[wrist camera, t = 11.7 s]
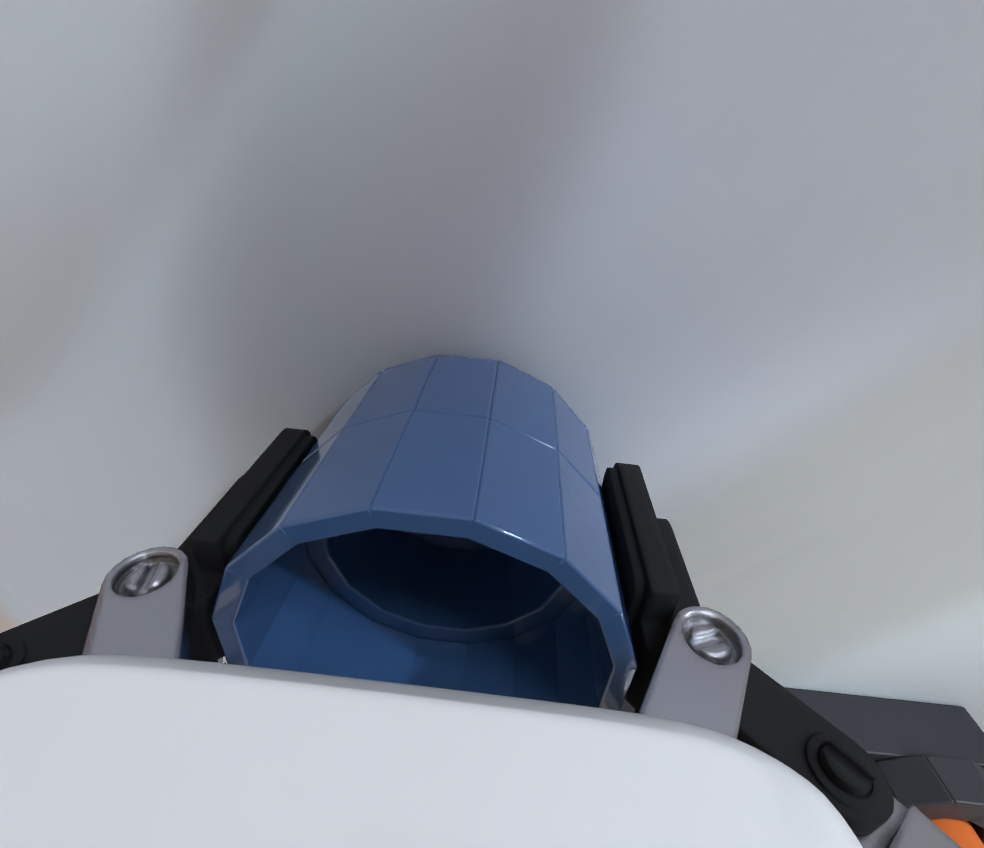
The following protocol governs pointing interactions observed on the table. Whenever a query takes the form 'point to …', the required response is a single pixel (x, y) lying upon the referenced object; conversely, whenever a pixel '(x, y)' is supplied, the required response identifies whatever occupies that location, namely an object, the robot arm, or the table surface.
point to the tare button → (960, 832)
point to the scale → (913, 750)
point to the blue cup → (440, 546)
